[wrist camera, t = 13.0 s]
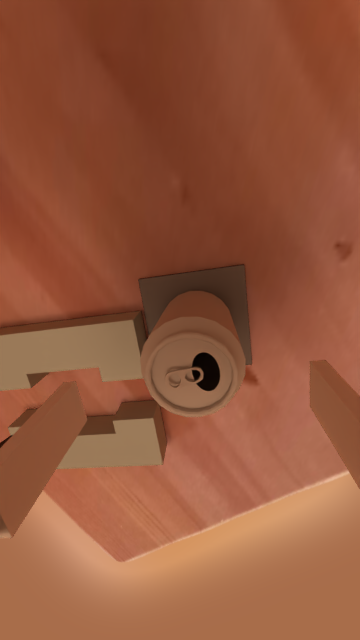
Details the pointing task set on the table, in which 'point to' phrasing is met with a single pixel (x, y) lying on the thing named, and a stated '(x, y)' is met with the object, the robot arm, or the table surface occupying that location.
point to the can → (193, 356)
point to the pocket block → (114, 364)
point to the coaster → (215, 281)
